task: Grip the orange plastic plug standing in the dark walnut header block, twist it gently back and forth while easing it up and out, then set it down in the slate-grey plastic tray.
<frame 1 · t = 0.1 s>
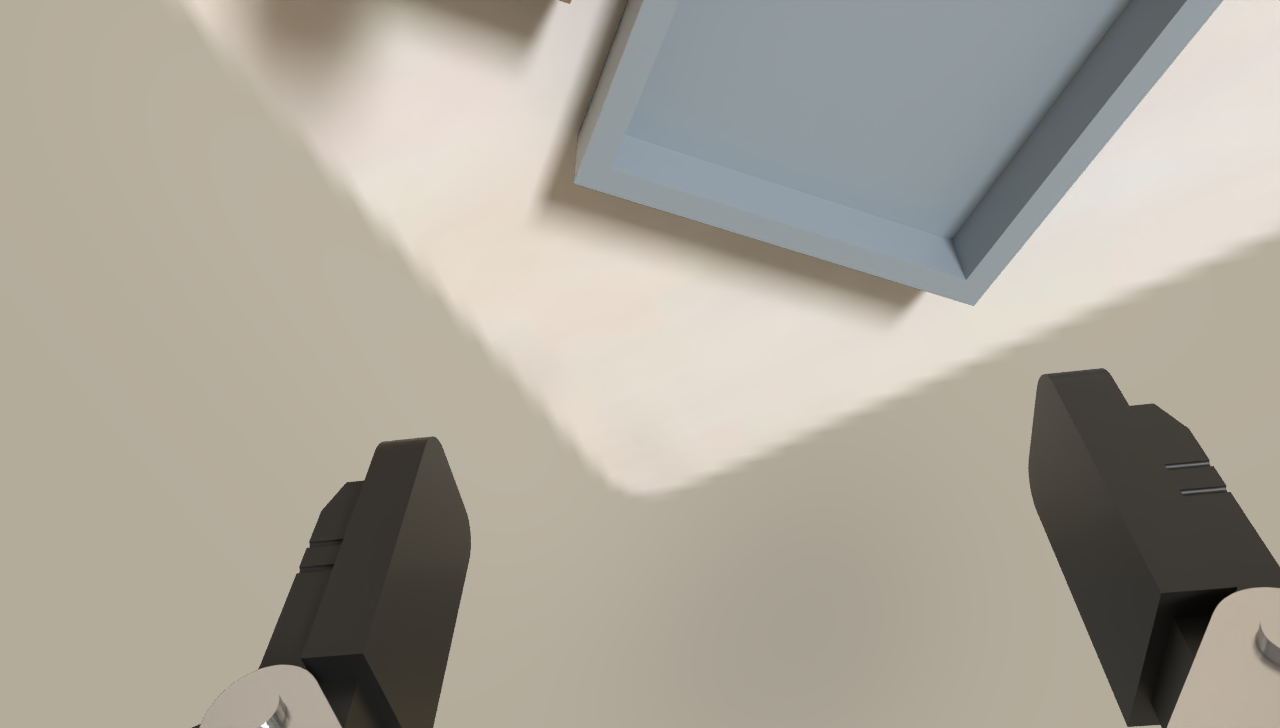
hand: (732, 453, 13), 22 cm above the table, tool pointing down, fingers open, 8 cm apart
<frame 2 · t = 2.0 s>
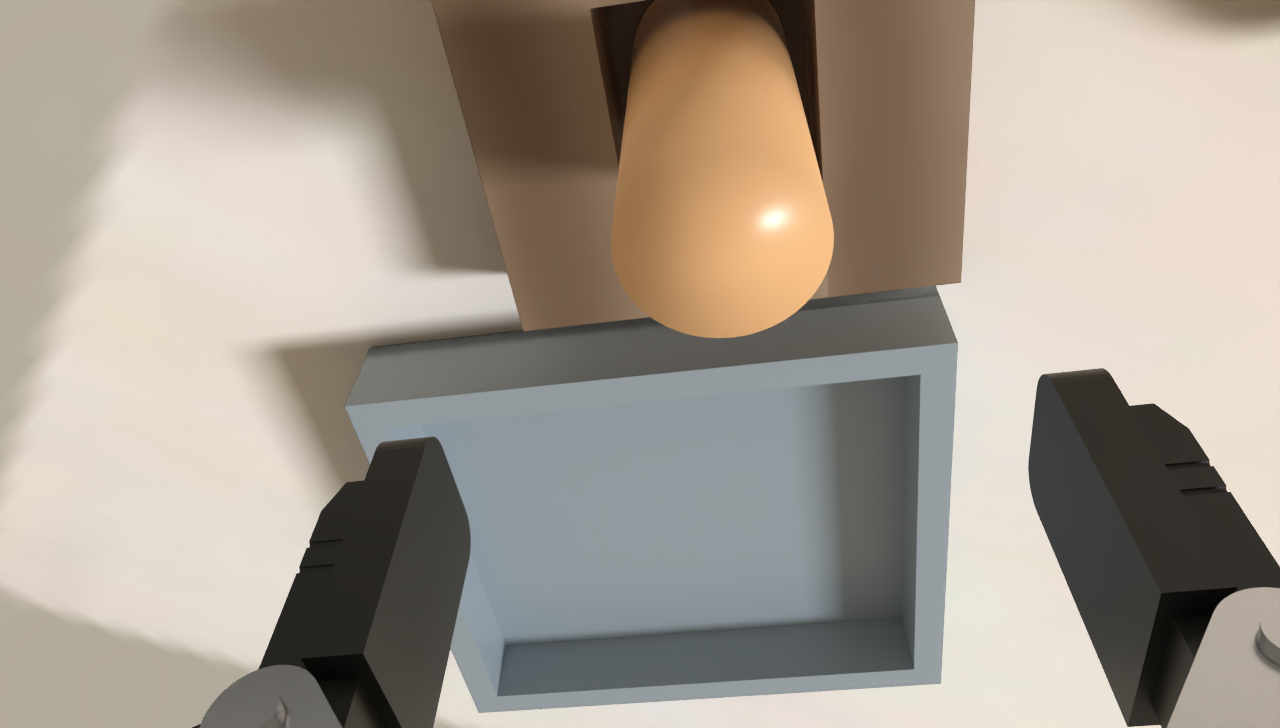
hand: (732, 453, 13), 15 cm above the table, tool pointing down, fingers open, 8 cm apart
slate tray: (676, 497, 35), on the table
orange plug: (714, 133, 21), in the walnut header
walnut header: (709, 55, 25), on the table
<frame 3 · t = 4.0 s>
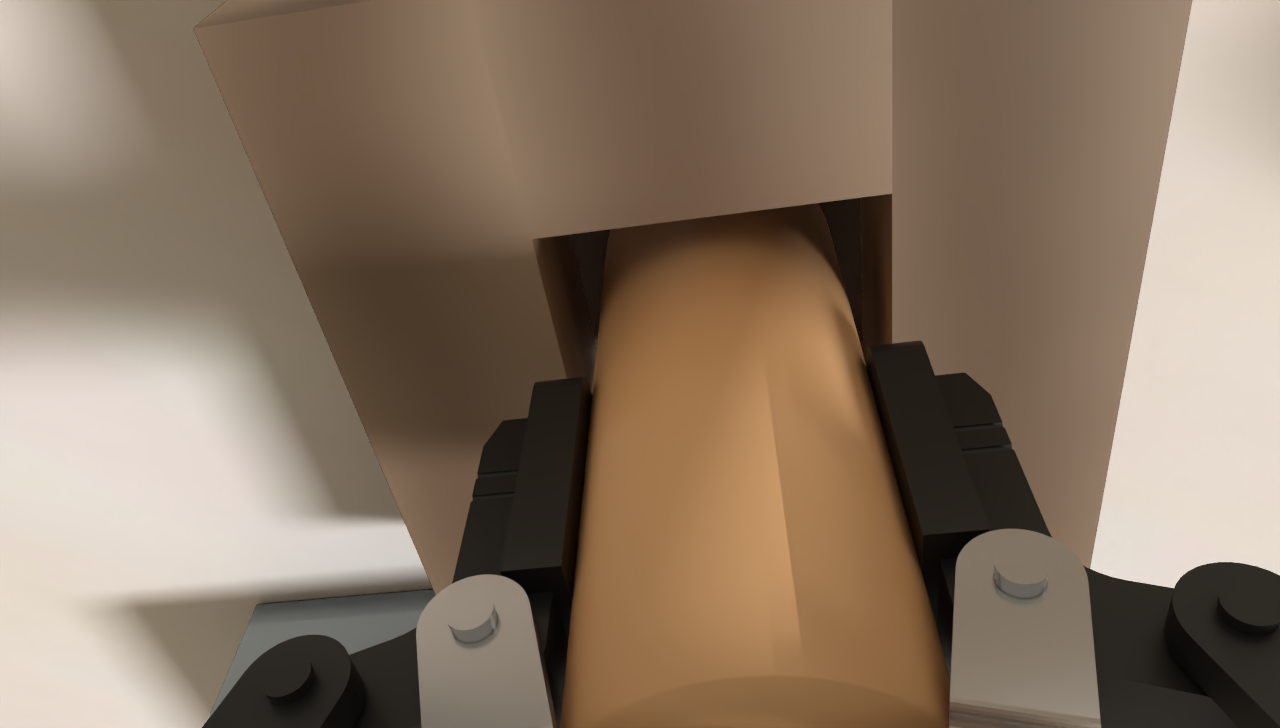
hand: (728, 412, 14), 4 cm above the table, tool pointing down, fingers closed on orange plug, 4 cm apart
orange plug: (733, 448, 13), in the walnut header, touching gripper
walnut header: (718, 259, 17), on the table
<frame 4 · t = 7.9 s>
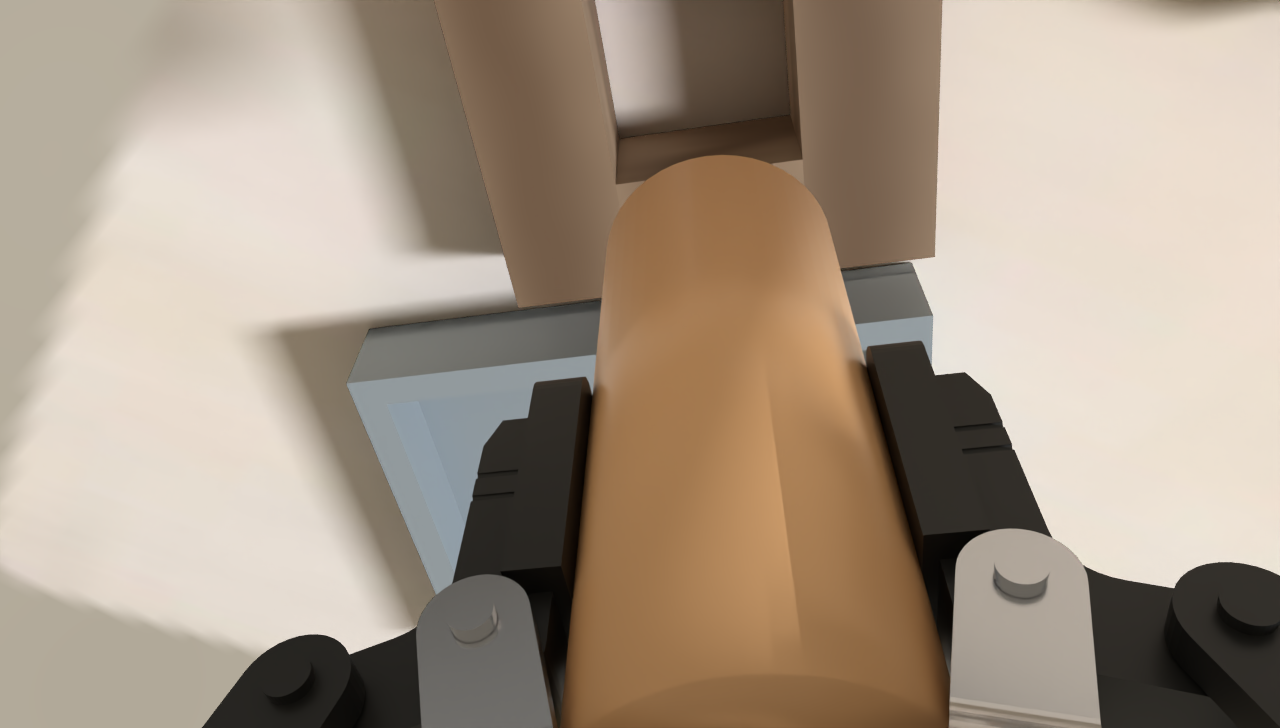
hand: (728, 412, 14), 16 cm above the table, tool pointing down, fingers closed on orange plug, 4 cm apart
slate tray: (666, 474, 36), on the table
orange plug: (733, 448, 13), point 17 cm above the table, touching gripper
walnut header: (693, 41, 27), on the table
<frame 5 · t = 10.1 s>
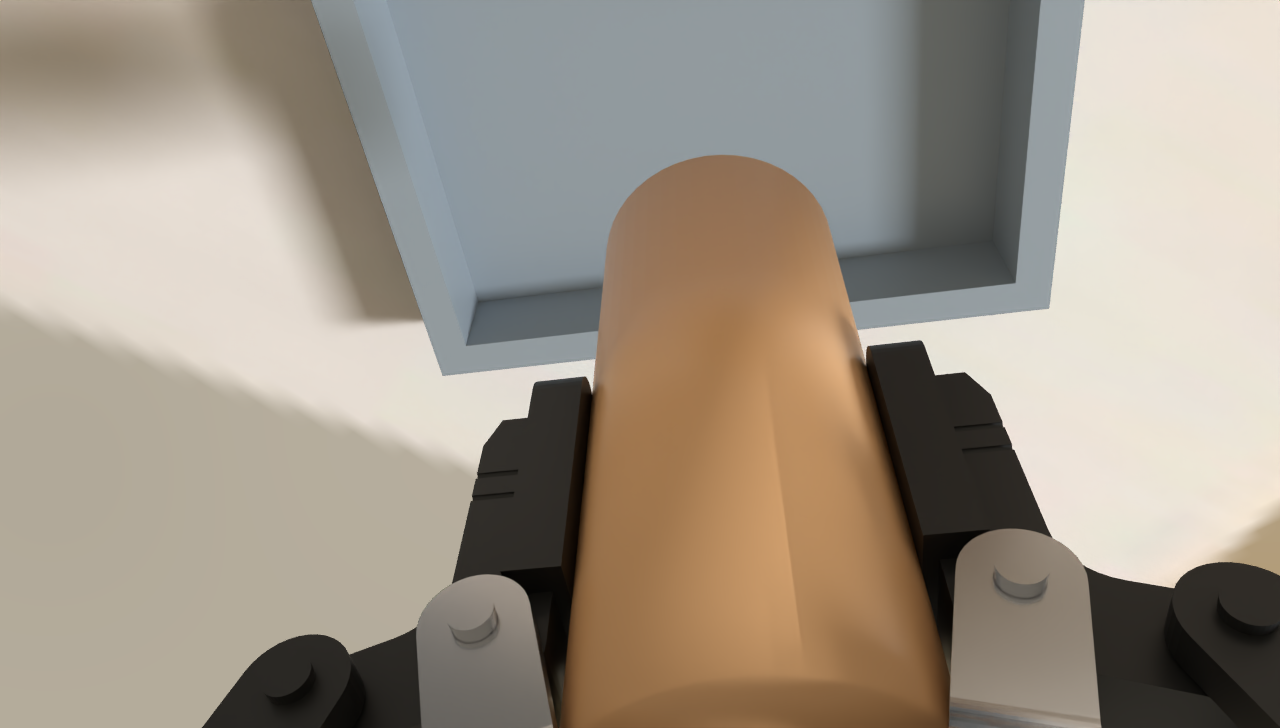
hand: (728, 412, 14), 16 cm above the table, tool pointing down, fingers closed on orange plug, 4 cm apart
slate tray: (701, 43, 26), on the table
orange plug: (733, 448, 13), point 16 cm above the table, touching gripper
when the fingers open (6 cm above the table, at t = 12.0 s): orange plug stays where it is, point 7 cm above the table.
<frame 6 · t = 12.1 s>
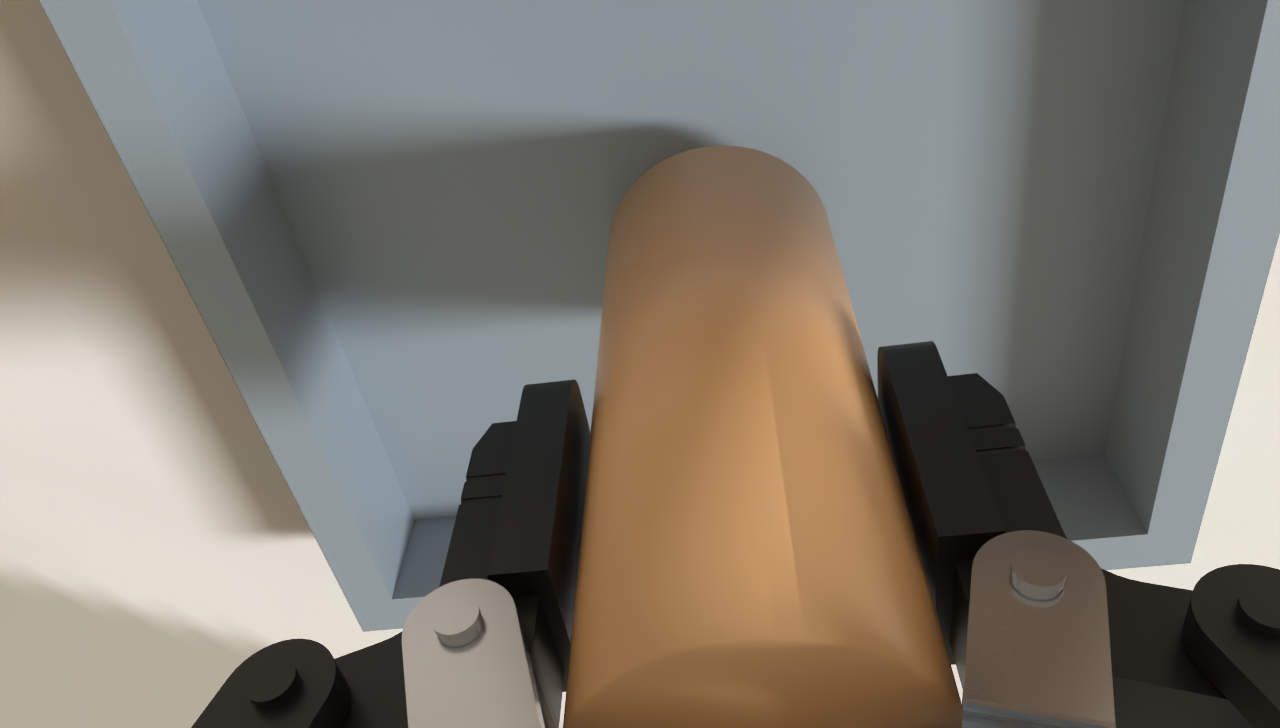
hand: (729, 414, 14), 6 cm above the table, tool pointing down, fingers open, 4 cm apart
slate tray: (711, 209, 19), on the table
orange plug: (734, 430, 14), in the slate tray, point 7 cm above the table
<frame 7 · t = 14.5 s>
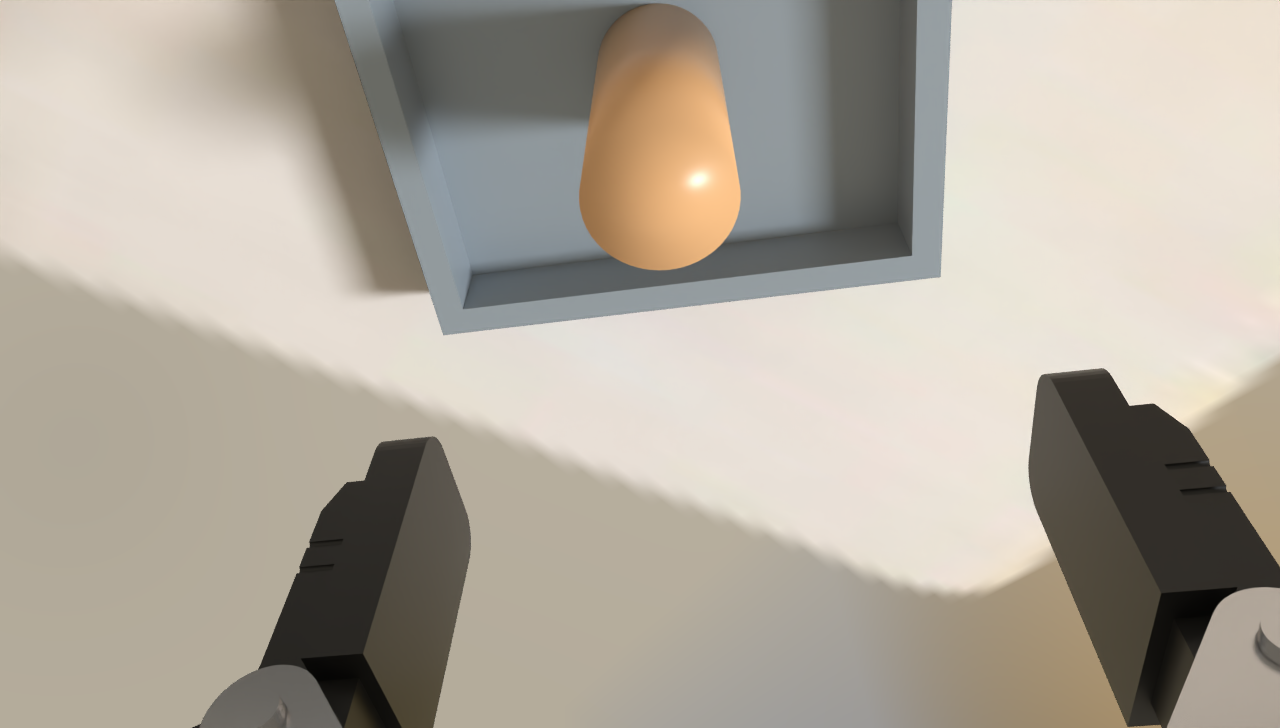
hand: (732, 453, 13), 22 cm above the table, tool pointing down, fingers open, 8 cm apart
slate tray: (655, 60, 33), on the table
orange plug: (658, 123, 28), in the slate tray, point 6 cm above the table
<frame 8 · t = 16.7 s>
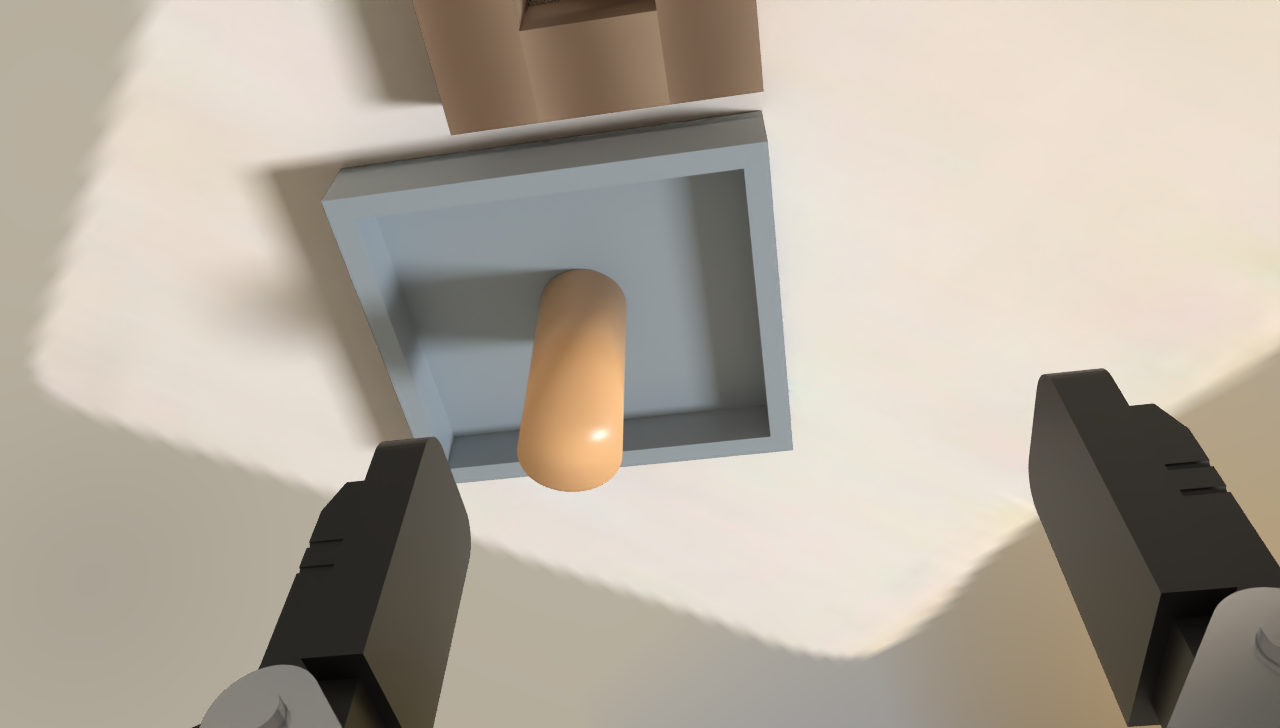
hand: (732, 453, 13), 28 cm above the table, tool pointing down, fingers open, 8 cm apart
slate tray: (582, 299, 45), on the table
orange plug: (577, 373, 41), in the slate tray, point 6 cm above the table
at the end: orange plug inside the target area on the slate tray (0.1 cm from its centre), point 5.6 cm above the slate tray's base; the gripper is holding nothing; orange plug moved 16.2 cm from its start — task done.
